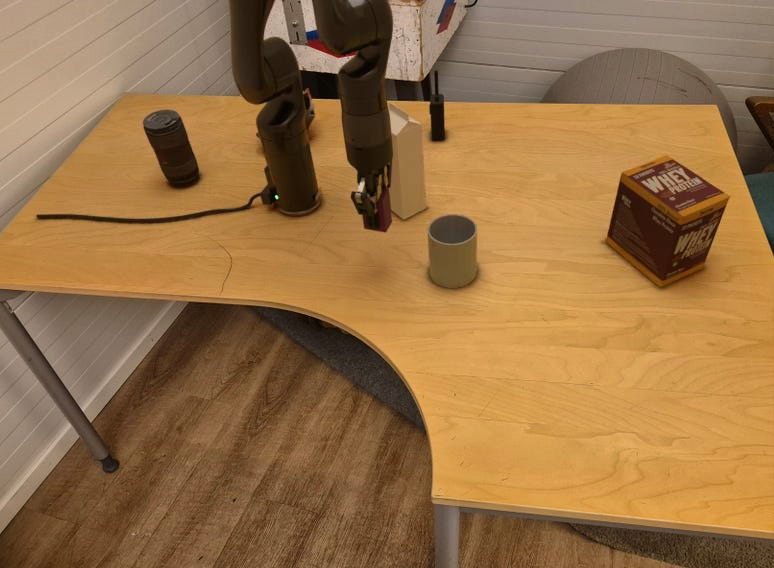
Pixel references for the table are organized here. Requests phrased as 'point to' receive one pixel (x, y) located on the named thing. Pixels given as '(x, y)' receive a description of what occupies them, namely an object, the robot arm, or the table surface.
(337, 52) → the robot arm
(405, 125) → the milk
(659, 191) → the supplement box
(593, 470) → the table surface
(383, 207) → the juice box
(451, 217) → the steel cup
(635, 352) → the table surface
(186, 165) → the camera lens
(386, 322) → the table surface
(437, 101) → the walkie-talkie
